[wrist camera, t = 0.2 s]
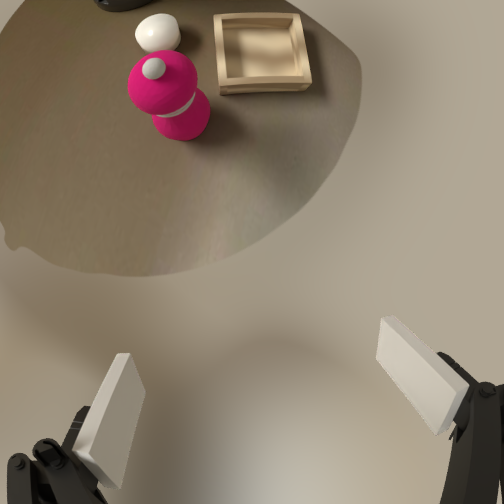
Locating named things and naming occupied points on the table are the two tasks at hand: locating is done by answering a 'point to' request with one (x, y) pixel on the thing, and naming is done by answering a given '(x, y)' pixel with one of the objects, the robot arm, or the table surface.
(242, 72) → the tray
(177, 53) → the pepper mill
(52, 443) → the robot arm
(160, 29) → the white egg-shaped pebble
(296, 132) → the table surface
